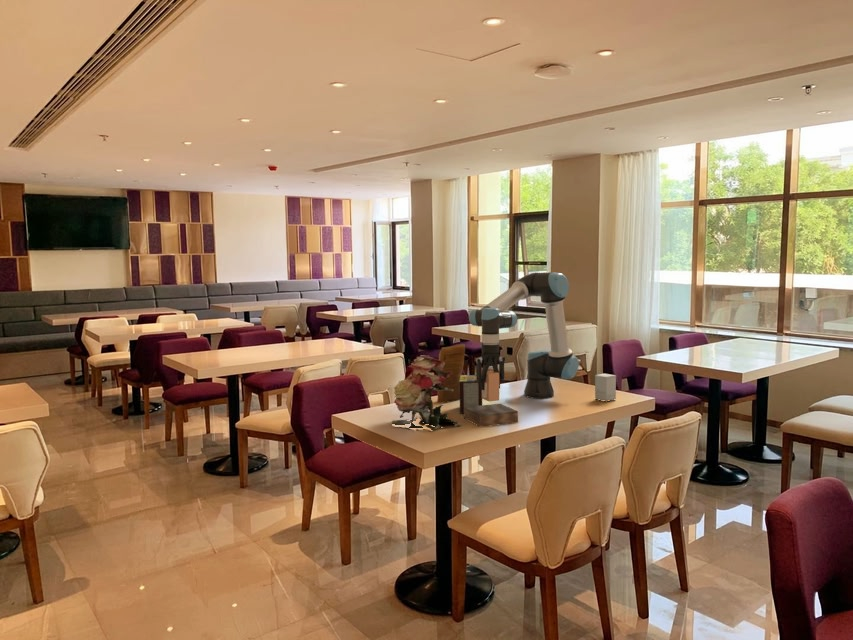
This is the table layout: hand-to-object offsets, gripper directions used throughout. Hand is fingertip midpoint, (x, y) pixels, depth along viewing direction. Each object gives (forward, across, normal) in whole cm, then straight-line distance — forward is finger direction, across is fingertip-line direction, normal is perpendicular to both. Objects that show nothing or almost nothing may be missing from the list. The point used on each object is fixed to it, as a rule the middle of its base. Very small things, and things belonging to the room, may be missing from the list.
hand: (490, 396), depth 274 cm
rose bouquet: (+11, +30, -6) cm, 32 cm away
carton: (+1, 0, 0) cm, 1 cm away
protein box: (+11, 0, -20) cm, 23 cm away
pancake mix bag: (+11, 0, -44) cm, 45 cm away
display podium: (+11, 0, 0) cm, 11 cm away
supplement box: (+10, -70, -13) cm, 72 cm away
